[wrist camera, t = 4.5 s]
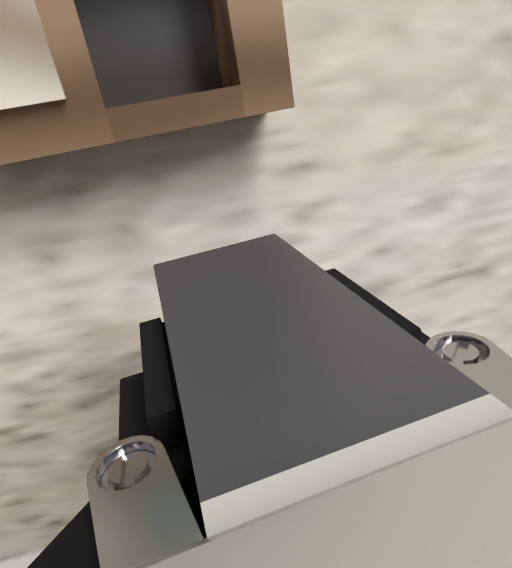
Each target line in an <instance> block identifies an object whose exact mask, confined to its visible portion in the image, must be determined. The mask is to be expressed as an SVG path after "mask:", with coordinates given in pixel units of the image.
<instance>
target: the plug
mask: <svg viewBox="0 0 512 568" xmlns="http://www.w3.org/2000/svg"><path fill="white" fill-rule="evenodd" d="M153 266H154V271H155V276H156V281H157V286H158V291H159V296H160V301H161V306H162V311H163V316H164V322H165V327H166V332H167V337H168V342H169V347H170V352H171V357H172V362H173V367H174V372H175V377H176V383H177V388H178V393H179V398H180V403H181V408H182V413H183V418H184V423H185V428H186V433H187V438H188V444H189V449H190V454H191V459H192V464H193V469H194V474H195V479H196V484H197V489H198V494H199V499H200V505H201V510H202V515H203V520H204V525H205V530H206V535H207V537H210V536H212V535H215V534H217V533H220V532H222V531H225V530H227V529H230V528H232V527H235V526H237V525H240V524H242V523H245V522H247V521H250V520H252V519H255V518H257V517H260V516H262V515H265V514H267V513H270V512H272V511H275V510H277V509H280V508H282V507H285V506H287V505H290V504H292V503H295V502H297V501H300V500H302V499H305V498H307V497H310V496H312V495H315V494H317V493H320V492H322V491H325V490H327V489H330V488H332V487H335V486H337V485H340V484H342V483H345V482H347V481H350V480H352V479H355V478H358V477H360V476H363V475H365V474H368V473H370V472H373V471H375V470H378V469H380V468H383V467H385V466H388V465H390V464H393V463H396V462H398V461H401V460H403V459H406V458H408V457H411V456H413V455H416V454H418V453H421V452H424V451H426V450H429V449H431V448H434V447H436V446H439V445H441V444H444V443H446V442H449V441H452V440H454V439H457V438H459V437H462V436H464V435H467V434H470V433H472V432H475V431H477V430H480V429H482V428H485V427H488V426H490V425H493V424H495V423H498V422H501V421H503V420H506V419H508V418H511V417H512V409H510V408H509V407H508V406H506V405H505V404H504V403H502V402H501V401H500V400H498V399H497V398H496V397H494V396H493V395H492V394H490V393H489V392H487V391H486V390H485V389H483V388H482V387H481V386H479V385H478V384H477V383H475V382H474V381H473V380H471V379H470V378H469V377H467V376H466V375H465V374H463V373H462V372H461V371H459V370H458V369H456V368H455V367H454V366H452V365H451V364H450V363H448V362H447V361H446V360H444V359H443V358H442V357H440V356H439V355H438V354H436V353H435V352H434V351H432V350H431V349H429V348H428V347H427V346H425V345H424V344H423V343H421V342H420V341H419V340H417V339H416V338H415V337H413V336H412V335H411V334H409V333H408V332H407V331H405V330H404V329H403V328H401V327H400V326H398V325H397V324H396V323H394V322H393V321H392V320H390V319H389V318H388V317H386V316H385V315H384V314H382V313H381V312H380V311H378V310H377V309H376V308H374V307H373V306H372V305H370V304H369V303H367V302H366V301H365V300H363V299H362V298H361V297H359V296H358V295H357V294H355V293H354V292H353V291H351V290H350V289H349V288H347V287H346V286H345V285H343V284H342V283H340V282H339V281H338V280H336V279H335V278H334V277H332V276H331V275H330V274H328V273H327V272H326V271H324V270H323V269H322V268H320V267H319V266H318V265H316V264H315V263H314V262H312V261H311V260H309V259H308V258H307V257H305V256H304V255H303V254H301V253H300V252H299V251H297V250H296V249H295V248H293V247H292V246H291V245H289V244H288V243H287V242H285V241H284V240H282V239H281V238H280V237H278V236H277V235H276V234H272V235H268V236H264V237H260V238H256V239H252V240H248V241H244V242H240V243H237V244H233V245H229V246H225V247H221V248H217V249H213V250H209V251H206V252H202V253H198V254H194V255H190V256H186V257H182V258H178V259H174V260H171V261H167V262H163V263H159V264H155V265H153Z"/></svg>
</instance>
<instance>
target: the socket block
mask: <svg viewBox="0 0 512 568" xmlns="http://www.w3.org/2000/svg"><path fill="white" fill-rule="evenodd" d="M293 107H294V99H293V91H292V82H291V74H290V65H289V57H288V48H287V40H286V32H285V23H284V15H283V6H282V0H0V165H4V164H9V163H14V162H19V161H24V160H29V159H35V158H40V157H45V156H50V155H55V154H60V153H65V152H70V151H75V150H80V149H85V148H90V147H95V146H101V145H106V144H111V143H116V142H121V141H126V140H131V139H136V138H141V137H146V136H151V135H156V134H161V133H167V132H172V131H177V130H182V129H187V128H192V127H197V126H202V125H207V124H212V123H217V122H222V121H227V120H233V119H238V118H243V117H248V116H253V115H258V114H263V113H268V112H273V111H278V110H283V109H288V108H293Z"/></svg>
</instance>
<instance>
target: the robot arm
mask: <svg viewBox="0 0 512 568" xmlns="http://www.w3.org/2000/svg"><path fill="white" fill-rule="evenodd" d="M326 272H327V273H328V274H330V275H331V276H332V277H334V278H335V279H336V280H338V281H339V282H340V283H342V284H343V285H345V286H346V287H347V288H349V289H350V290H351V291H353V292H354V293H355V294H357V295H358V296H359V297H361V298H362V299H363V300H365V301H366V302H367V303H369V304H370V305H372V306H373V307H374V308H376V309H377V310H378V311H380V312H381V313H382V314H384V315H385V316H386V317H388V318H389V319H390V320H392V321H393V322H394V323H396V324H397V325H398V326H400V327H401V328H403V329H404V330H405V331H407V332H408V333H409V334H411V335H412V336H413V337H415V338H416V339H417V340H419V341H420V342H421V343H423V344H424V345H425V346H427V347H428V348H429V349H431V350H432V351H434V352H435V353H436V354H438V355H439V356H440V357H442V358H443V359H444V360H446V361H447V362H448V363H450V364H451V365H452V366H454V367H455V368H456V369H458V370H459V371H461V372H462V373H463V374H465V375H466V376H467V377H469V378H470V379H471V380H473V381H474V382H475V383H477V384H478V385H479V386H481V387H482V388H483V389H485V390H486V391H487V392H489V393H490V394H492V395H493V396H494V397H496V398H497V399H498V400H500V401H501V402H502V403H504V404H505V405H506V406H508V407H509V408H510V409H512V358H511V357H509V356H508V355H507V354H506V353H505V352H503V351H502V350H501V349H500V348H499V347H497V346H496V345H495V344H494V343H493V342H491V341H490V340H488V339H486V338H485V337H482V336H479V335H477V334H473V333H468V332H456V331H453V332H444V333H441V334H437V335H435V336H433V337H432V338H430V337H428V336H427V335H425V334H424V333H422V332H421V329H420V328H419V327H418V326H416V325H415V324H413V323H412V322H410V321H409V320H408V319H406V318H405V317H403V316H402V315H400V314H399V313H398V312H396V311H395V310H393V309H392V308H390V307H389V306H387V305H386V304H385V303H383V302H382V301H380V300H379V299H377V298H376V297H375V296H373V295H372V294H370V293H369V292H367V291H366V290H365V289H363V288H362V287H360V286H359V285H357V284H356V283H355V282H353V281H352V280H350V279H349V278H347V277H346V276H345V275H343V274H342V273H340V272H339V271H337V270H336V269H330V270H327V271H326ZM140 338H141V352H142V366H143V372H142V373H138V374H135V375H132V376H128V377H125V378H122V379H121V380H120V408H119V441H118V442H117V443H115V444H113V445H111V446H110V447H108V448H107V449H106V450H105V451H103V452H102V453H101V454H100V455H99V456H98V457H97V459H96V460H95V461H94V462H93V464H92V465H91V467H90V470H89V472H88V474H87V488H88V494H89V502H88V503H87V504H86V505H85V507H84V508H83V509H82V510H81V511H80V512H79V513H78V514H77V515H76V516H75V517H74V518H73V519H72V520H71V522H70V523H69V524H68V525H67V526H66V527H65V528H64V529H63V530H62V531H61V532H60V533H59V534H58V535H57V537H56V538H55V539H54V540H53V541H52V542H51V543H50V544H49V545H48V546H47V547H46V548H45V549H44V550H43V552H42V553H41V554H40V555H39V556H38V557H37V558H36V559H35V560H34V561H33V562H32V563H31V564H30V566H29V567H28V568H512V417H511V418H508V419H506V420H503V421H501V422H498V423H495V424H493V425H490V426H488V427H485V428H482V429H480V430H477V431H475V432H472V433H470V434H467V435H464V436H462V437H459V438H457V439H454V440H452V441H449V442H446V443H444V444H441V445H439V446H436V447H434V448H431V449H429V450H426V451H424V452H421V453H418V454H416V455H413V456H411V457H408V458H406V459H403V460H401V461H398V462H396V463H393V464H390V465H388V466H385V467H383V468H380V469H378V470H375V471H373V472H370V473H368V474H365V475H363V476H360V477H358V478H355V479H352V480H350V481H347V482H345V483H342V484H340V485H337V486H335V487H332V488H330V489H327V490H325V491H322V492H320V493H317V494H315V495H312V496H310V497H307V498H305V499H302V500H300V501H297V502H295V503H292V504H290V505H287V506H285V507H282V508H280V509H277V510H275V511H272V512H270V513H267V514H265V515H262V516H260V517H257V518H255V519H252V520H250V521H247V522H245V523H242V524H240V525H237V526H235V527H232V528H230V529H227V530H225V531H222V532H220V533H217V534H215V535H212V536H210V537H207V535H206V530H205V525H204V520H203V515H202V510H201V505H200V499H199V494H198V489H197V484H196V479H195V474H194V469H193V464H192V459H191V454H190V449H189V444H188V438H187V433H186V428H185V423H184V418H183V413H182V408H181V403H180V398H179V393H178V388H177V383H176V377H175V372H174V367H173V362H172V357H171V352H170V347H169V342H168V337H167V332H166V327H165V322H161V319H160V318H157V319H153V320H149V321H146V322H142V323H140Z"/></svg>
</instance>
